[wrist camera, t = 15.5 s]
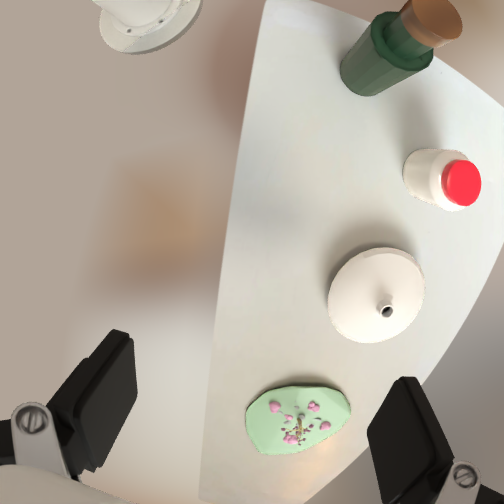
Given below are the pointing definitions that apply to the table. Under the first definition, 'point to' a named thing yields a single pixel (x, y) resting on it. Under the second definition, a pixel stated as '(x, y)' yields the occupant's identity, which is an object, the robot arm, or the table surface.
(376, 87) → the bottle
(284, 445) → the plant
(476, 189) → the pill bottle
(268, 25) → the table surface
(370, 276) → the vase
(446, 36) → the stopper
